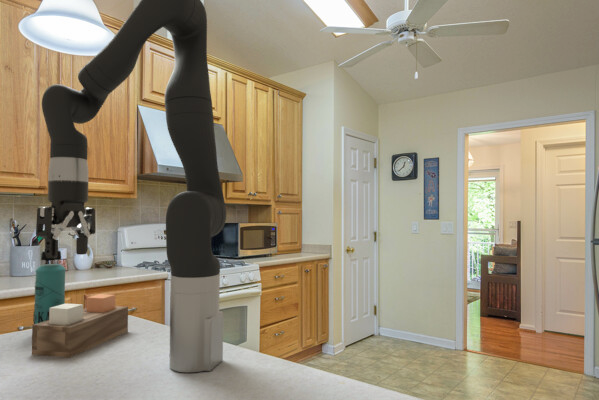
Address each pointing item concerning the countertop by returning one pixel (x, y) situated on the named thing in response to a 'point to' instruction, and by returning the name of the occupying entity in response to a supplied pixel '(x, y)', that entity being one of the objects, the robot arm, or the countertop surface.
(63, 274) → the beverage bottle
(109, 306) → the terracotta plug
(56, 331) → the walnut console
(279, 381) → the countertop surface
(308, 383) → the countertop surface
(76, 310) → the white plug
